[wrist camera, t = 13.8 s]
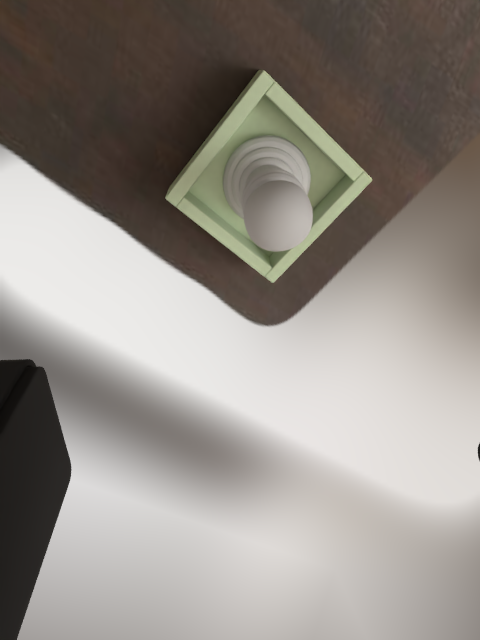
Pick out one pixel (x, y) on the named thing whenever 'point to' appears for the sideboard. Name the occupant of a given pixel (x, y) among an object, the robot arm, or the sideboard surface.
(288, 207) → the chess piece
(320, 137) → the socket pad
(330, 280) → the sideboard surface
